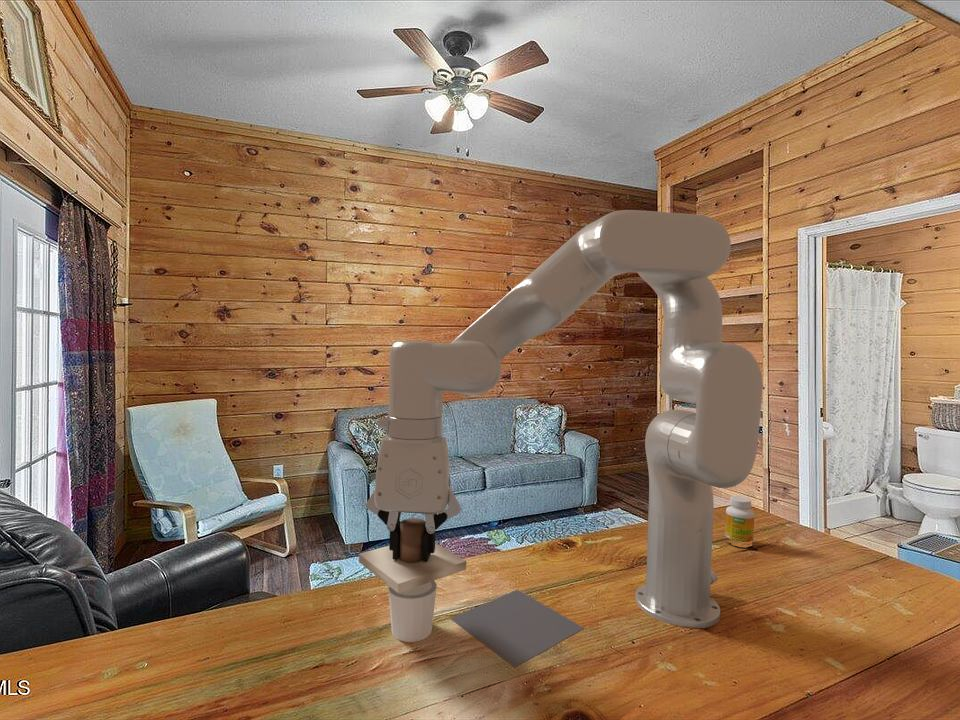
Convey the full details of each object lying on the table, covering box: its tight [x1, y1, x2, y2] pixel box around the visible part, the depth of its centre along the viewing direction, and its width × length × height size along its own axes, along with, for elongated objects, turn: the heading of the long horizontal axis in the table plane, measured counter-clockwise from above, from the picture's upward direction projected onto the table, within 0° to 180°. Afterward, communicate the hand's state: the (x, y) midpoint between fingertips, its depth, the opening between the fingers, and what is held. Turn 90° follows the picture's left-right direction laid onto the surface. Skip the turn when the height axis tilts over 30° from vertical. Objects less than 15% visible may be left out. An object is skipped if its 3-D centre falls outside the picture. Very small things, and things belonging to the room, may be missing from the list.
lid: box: [358, 517, 467, 593], centre depth 70 cm, size 11×11×6 cm
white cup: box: [387, 580, 438, 643], centre depth 71 cm, size 7×7×7 cm
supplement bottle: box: [724, 495, 755, 542], centre depth 105 cm, size 5×5×10 cm
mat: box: [449, 589, 585, 668], centre depth 73 cm, size 14×14×1 cm
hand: (412, 555), depth 70 cm, fingers closed on lid, 3 cm apart
